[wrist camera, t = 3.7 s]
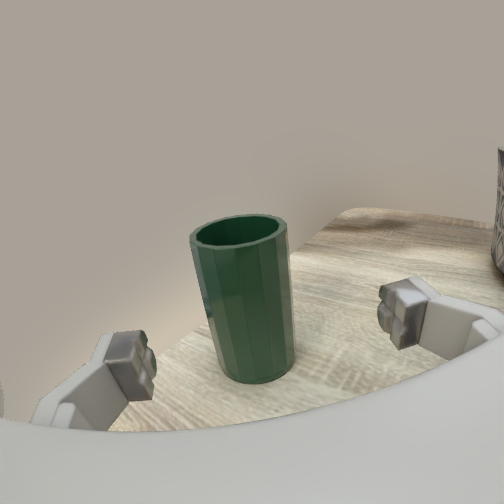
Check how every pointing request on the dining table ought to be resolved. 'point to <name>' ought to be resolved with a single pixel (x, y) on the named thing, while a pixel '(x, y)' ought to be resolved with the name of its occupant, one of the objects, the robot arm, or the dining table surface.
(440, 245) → the dining table surface
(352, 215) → the dining table surface
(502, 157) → the planter
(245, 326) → the slim cup
